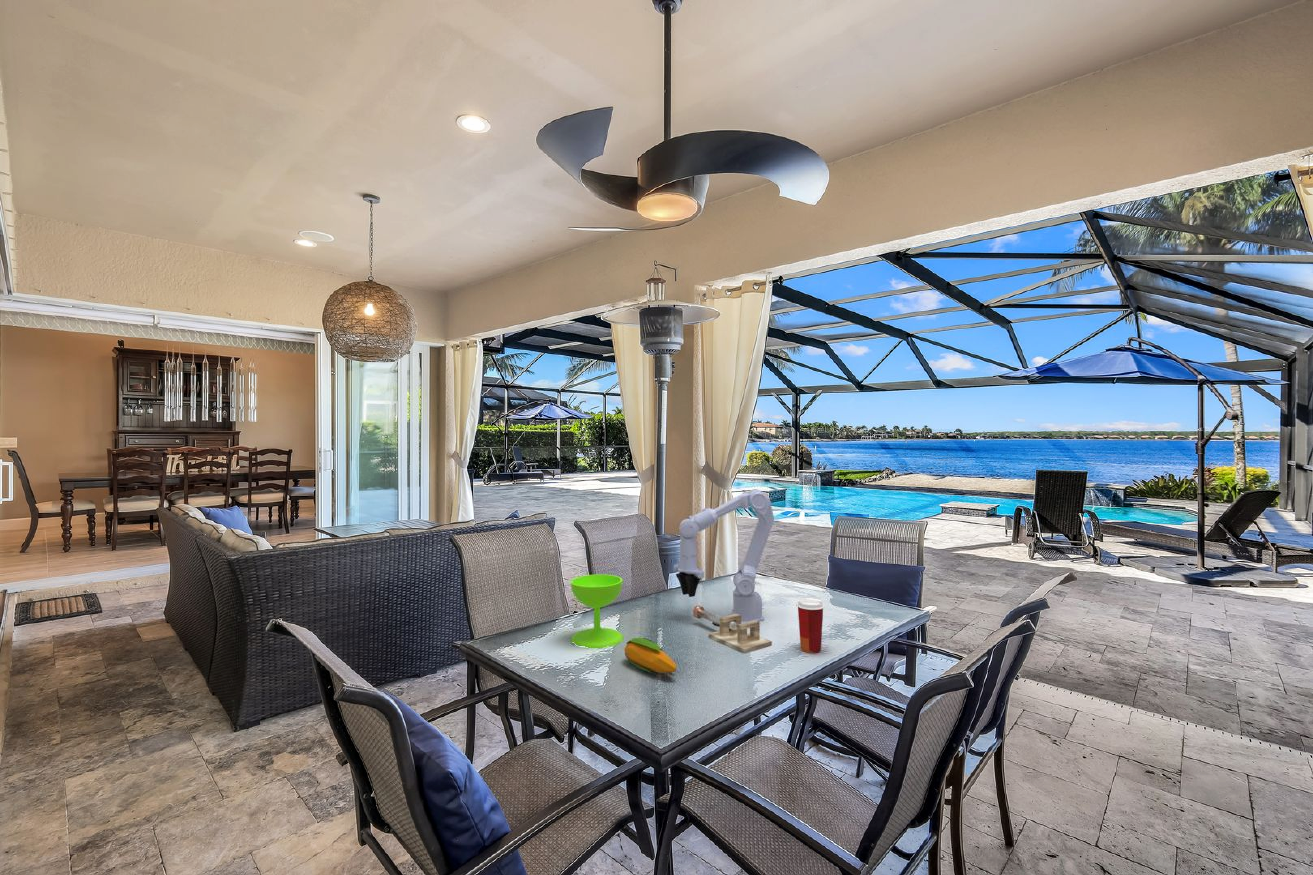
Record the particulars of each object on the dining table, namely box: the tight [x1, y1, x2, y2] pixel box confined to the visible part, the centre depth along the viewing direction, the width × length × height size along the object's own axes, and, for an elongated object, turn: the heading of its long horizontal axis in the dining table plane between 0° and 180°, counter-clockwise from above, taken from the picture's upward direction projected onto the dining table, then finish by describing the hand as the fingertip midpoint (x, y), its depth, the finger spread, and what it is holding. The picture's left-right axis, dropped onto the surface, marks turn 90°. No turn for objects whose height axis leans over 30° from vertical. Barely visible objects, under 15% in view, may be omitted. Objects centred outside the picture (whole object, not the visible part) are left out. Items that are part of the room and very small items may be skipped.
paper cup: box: [796, 597, 825, 654], centre depth 164 cm, size 8×8×14 cm
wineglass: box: [570, 573, 624, 649], centre depth 174 cm, size 16×16×18 cm
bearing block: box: [707, 614, 773, 654], centre depth 171 cm, size 16×11×6 cm
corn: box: [624, 637, 677, 674], centre depth 151 cm, size 7×8×20 cm
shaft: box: [692, 605, 738, 630], centre depth 180 cm, size 18×4×4 cm, turn 34°
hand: (688, 595), depth 192 cm, fingers open, 3 cm apart
